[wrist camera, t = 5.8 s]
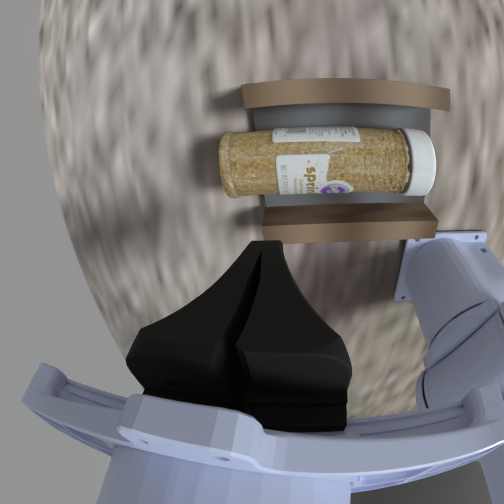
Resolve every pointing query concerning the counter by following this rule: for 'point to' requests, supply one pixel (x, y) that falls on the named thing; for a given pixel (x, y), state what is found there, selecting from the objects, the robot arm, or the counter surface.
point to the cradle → (352, 115)
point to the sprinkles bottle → (326, 161)
